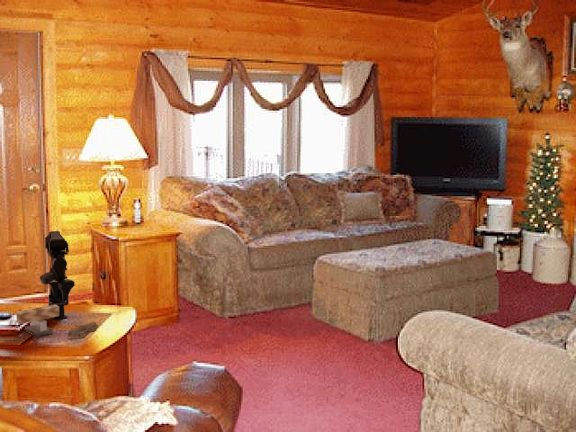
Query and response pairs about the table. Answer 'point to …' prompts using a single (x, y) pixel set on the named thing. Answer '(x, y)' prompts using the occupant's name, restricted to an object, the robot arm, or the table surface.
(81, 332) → the wooden fragment
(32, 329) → the balance ridge
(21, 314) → the birch rod
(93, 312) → the table surface
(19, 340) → the table surface
